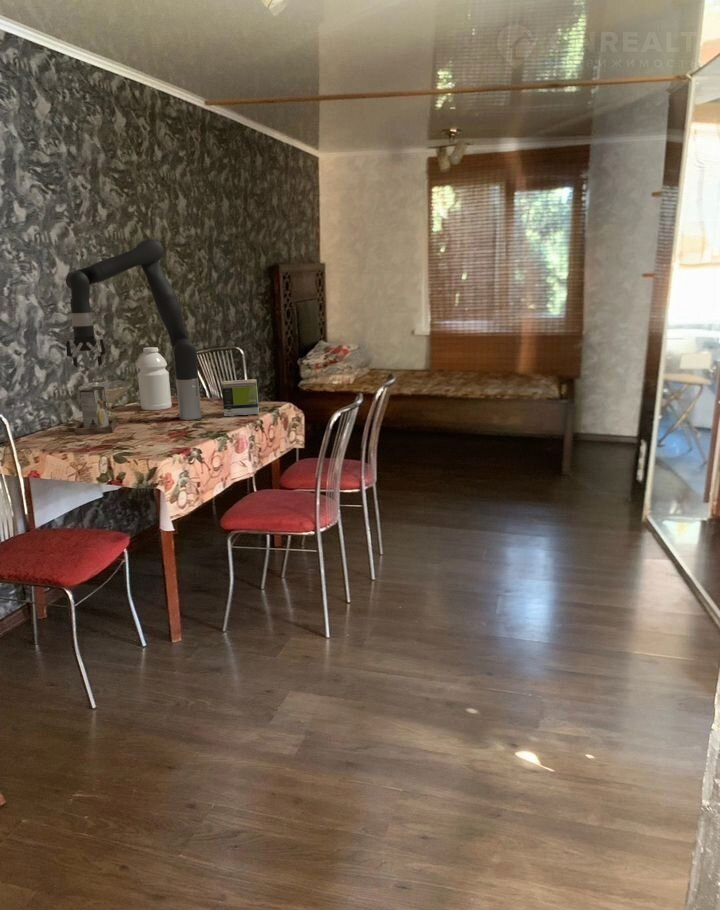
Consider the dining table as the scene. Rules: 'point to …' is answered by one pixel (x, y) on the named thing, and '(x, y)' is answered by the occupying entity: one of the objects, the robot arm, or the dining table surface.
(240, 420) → the dining table surface
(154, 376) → the bottle
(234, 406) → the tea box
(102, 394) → the coffee box
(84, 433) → the walnut tray
